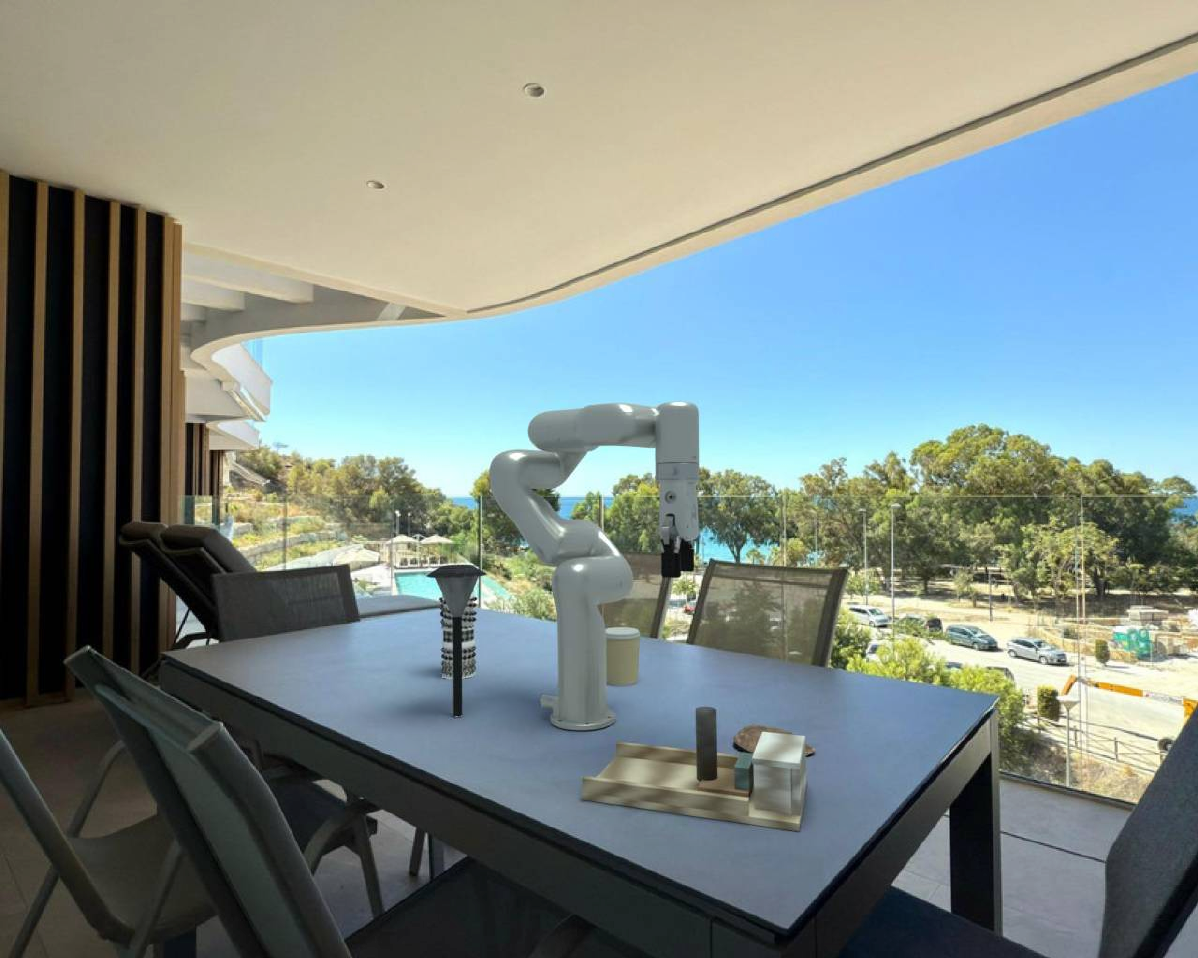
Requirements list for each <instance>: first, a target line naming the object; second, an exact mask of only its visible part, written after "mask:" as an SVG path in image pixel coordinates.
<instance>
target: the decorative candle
mask: <svg viewBox="0 0 1198 958" xmlns="http://www.w3.org/2000/svg"><path fill="white" fill-rule="evenodd" d="M477 600H478V597H476V596H475V591H474V589H473V591H472V594H471V596H470V598H469V601H468V603H467V605H466V608H465V610H464V612H463V615H462V679H463V678H468V677H472V676H474V675H475V674H476V675H477V673H476V670H477V667H476V664H477V660H476V659H475V657H476V656H477V653H476V652H475V650H477V647H476V646H475V645H476V643H475V641H476V639H475V629H476V627H477V625H476V624H474V623H475V622H476V621H477V618H476V617H474V616H476V615H477V614H478V613H477V611H475V609H474V608H476V607H477V606H478V604H477V603H476V602H475V601H477ZM438 601H439V602H440V603H441V604H440V606H439V607H438V609H439V610H440V612H439V615H440V617H441V620H440V625H441V627H440V630H442V641H441V646H442V647H441V649H440V651H441V654H440V655H441V656H440V657H441V659H442V661H441V662H440V666H441V669H440V671H441V673H442V674H441V675H442V677H445V678H449V679H453V624H452V614H451V612H450V610H449V608H448V605H447V603H446V601H445V599H444V597H443V594H442V593H441V597H439V598H438ZM442 677H441V678H442ZM472 678H473V677H472Z"/></svg>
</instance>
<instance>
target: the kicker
mask: <svg viewBox="0 0 1198 958" xmlns="http://www.w3.org/2000/svg"><path fill="white" fill-rule="evenodd" d="M717 729H718V728H717V709H716V708H714V707H711V706H699V707H696V708H695V750H696V764H697V780H698V781H700V784H699V786H698V791H702V792H709V793H716V794H724V795H731V796H739V797H746V798H749V797H750V794H751V791H752V789H753V786H754V764H752V757H753V754H751V753H745V752H742V751H740V753H739V754H738V755H739V757H738V760H737V762H736V764H735V767H734V769H728V768H719V767H717V753H718V744H717V743H718V742H717V741H718V738H717V736H718V735H717V733H718V732H717Z"/></svg>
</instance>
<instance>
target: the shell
mask: <svg viewBox="0 0 1198 958" xmlns="http://www.w3.org/2000/svg"><path fill="white" fill-rule="evenodd" d="M762 732H770V733H780V734H789V735H794V734H793V732H791V731H788V730H784V729H782V728H777V727H774V726H764V725H759V724H751V725H747V726H743V727H742V729H740V730H739V731H738V733H737V734H736V735H735V736H733V737H732V741H733V743H732V744H733V747H734V748H736V749H737V750H738V751H740V752H742V753H751V754H754V752H755V749H756V746H757V744H758V741H759V739H760V736H761V733H762ZM815 751H816V748H815V747H813V746H811V745H809V744H807V743H805V758H807V757H810V756H812V755H813V753H814V752H815Z"/></svg>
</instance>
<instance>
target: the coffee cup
mask: <svg viewBox="0 0 1198 958" xmlns="http://www.w3.org/2000/svg"><path fill="white" fill-rule="evenodd" d="M640 637H641V632H640V630H639V629H638V628H635V627H627V626H626V627H625V626H620V627H619V626H617V627H616V626H615V627H608V628H606V678H607V685H610V686H619V687H621V686H622V687H624V686H632V685H635V684H637V683H638V680H639V667H640V664H639V663H640V645H641V638H640Z"/></svg>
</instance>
